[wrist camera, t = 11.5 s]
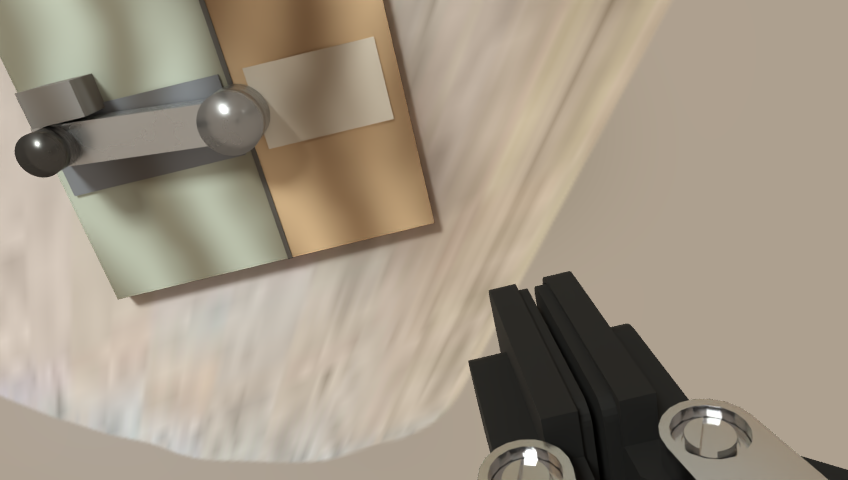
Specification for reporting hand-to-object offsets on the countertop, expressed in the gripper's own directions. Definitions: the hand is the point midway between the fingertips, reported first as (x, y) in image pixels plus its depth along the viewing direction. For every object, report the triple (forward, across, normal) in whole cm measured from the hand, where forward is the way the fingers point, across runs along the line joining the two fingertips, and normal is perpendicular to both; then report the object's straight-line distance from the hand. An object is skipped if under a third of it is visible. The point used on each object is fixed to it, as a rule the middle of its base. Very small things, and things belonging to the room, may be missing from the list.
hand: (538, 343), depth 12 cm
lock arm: (+27, +16, -2) cm, 32 cm away
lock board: (+29, +12, -2) cm, 31 cm away
